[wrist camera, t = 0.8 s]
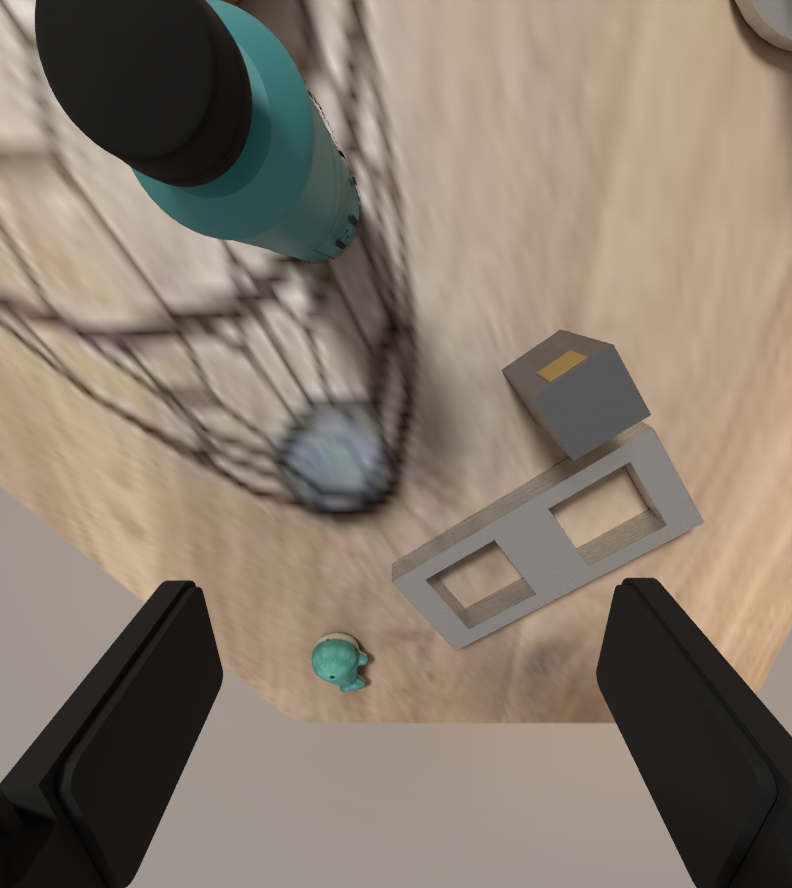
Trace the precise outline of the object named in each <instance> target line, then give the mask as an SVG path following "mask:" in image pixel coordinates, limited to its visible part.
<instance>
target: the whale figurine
mask: <svg viewBox="0 0 792 888" xmlns="http://www.w3.org/2000/svg"><path fill="white" fill-rule="evenodd" d="M367 662H368V656H367V654H366V653H364V652H362V651H360V650H359V646H358V643H357V641H356V640H355V639H354V638H353V637H352V636H350V635H348V634H345V633H332V634H328V635H325V636H323V637H321V638H320V639H319V640H318V641H317V642H316V644H315V646H314V649H313V653H312V665H313V669H314V672H315V673H316V675H318V676H319V677H320V678H321V679H323V680H325V681H328V682H331V683H333V684H336V685H339V686H340V690H341V691H343V692H347V691H350V690H356V689H360V688H363V687H364V686H365V684H366V681H365V679H364V678H363V677H362V676H361V675H359V674H357V671H358V666H360V665H365V664H366V663H367Z"/></svg>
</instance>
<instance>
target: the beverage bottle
mask: <svg viewBox="0 0 792 888" xmlns="http://www.w3.org/2000/svg"><path fill="white" fill-rule="evenodd" d="M35 32H36V41H37V47H38V51H39V56H40V60H41V63H42V66H43V69H44V73H45V75H46V77H47V80H48V82H49V85H50V87H51V89H52V91H53V93H54V95H55V97H56V99H57V100H58V102H59V103H60V105H61V107H62V108H63V110H64V111H65V112H66V114H67V115H68V116H69V118H70V119H71V120H72V121H73V122H74V124H75V125H76V126H77V127H78V128H79V129H80V130H81V131H82V132H83V133H84V134H85V135H86V136H87V137H89V138H90V139H91V140H92V141H93V142H94V143H96V144H97V145H98V146H100V147H101V148H103V149H104V150H106V151H107V152H109V153H111V154H112V155H114V156H116V157H118V158H119V159H121V160H122V161H124V162H125V163H126V164H128V165H129V166H130V167H131V168H132V170H133V172H134V174H135V175H136V177H137V179H138V180H139V182H140V184H141V185H142V187H143V188H144V189H145V191H146V192H147V193H148V195H149V196H150V197H151V198H152V200H153V201H154V202H155V203H156V204H157V205H158V206H159V207H160V208H161V209H162V210H163V211H164V212H166V213H167V214H168V215H169V216H170V217H171V218H173V219H174V220H176V221H177V222H179V223H180V224H182V225H183V226H185V227H187V228H189V229H191V230H192V231H195V232H197V233H200V234H202V235H205V236H209V237H213V238H217V239H223V240H234V241H238V242H242V243H246V244H250V245H254V246H258V247H261V248H265V249H269V250H271V251H274V252H277V253H280V254H284V255H287V256H291V257H294V258H298V259H301V260H305V261H302V262H308V261H312V262H313V261H315V262H316V261H318V262H319V261H321V263H322V260H326V259H329V258H332V257H334V256H335V255H337V254H339V253H340V252H341V251H342V250H345V247H346V246H347V245H348V244H349V243H350V241H351V240H353V239H352V238H353V236H354V234H355V235H357V234H356V233H355V232H357V231H356V229H358V228H357V225H358V221H359V222H361V221H360V220H359V215H360V213H359V209H360V206H359V201H360V197H359V196H358V193H357V190H356V187H355V185H357V184H356V181H355V178H354V177H352V178H351V176H350V174H349V172H348V170H347V168H346V166H345V164H344V162H343V160H342V158H341V156H342V157H343V158H345V157H344V155H343V153H342V152H341V151H339V150H340V149H338V150H337V148H336V147H337V146H336V145H335V144H336V143H335V144H334V142H333V140H332V138H331V136H330V134H329V131H328V130H327V128H326V126H325V124H324V122H323V120H322V119H323V118H322V117H321V116H320V114H319V112H318V110H317V108H316V106H315V105H314V103H313V101H312V99H313V98H312V99H311V98H310V96H309V93H310V95H311V92H312V91H311V92H310V91H309V90H308V91H309V93H308V91H307V88H306V85H305V83H304V82H305V81H303V78H302V76H301V74H300V72H299V70H298V68H297V66H296V65H295V63H294V61H293V59H292V57H291V56H290V54H289V53H288V51H287V50H286V49H285V47H284V46H283V44H282V43H281V42H280V41H279V40H278V38H277V37H276V36H275V35H274V34H273V33H272V32H271V31H270V30H269V29H268V28H267V27H266V26H265V25H264V24H262V23H261V22H260V21H259V20H257V19H256V18H255V17H253V16H252V15H250V14H249V13H247V12H246V11H244V10H242V9H240V8H238V7H236V6H234V5H232V4H229V3H226V2H224V1H221V0H36V7H35ZM307 86H308V85H307ZM309 89H310V88H309ZM313 95H314V94H313ZM313 95H311V97H312V96H313ZM315 98H316V97H315ZM315 98H314V99H315ZM314 99H313V100H314ZM314 101H315V102H316V100H314ZM316 103H317V102H316ZM317 105H318V104H317ZM319 108H320V109H321V107H320V105H319ZM322 113H323V112H322ZM323 114H324V113H323ZM324 119H325V117H324ZM324 121H325V120H324ZM325 122H326V121H325ZM327 123H328V121H327ZM328 124H329V123H328ZM329 126H330V125H329ZM332 132H333V131H332ZM333 138H334V137H333ZM334 140H335V139H334ZM335 142H336V141H335ZM337 143H338V142H337ZM345 161H346V160H345ZM346 163H347V162H346ZM351 172H352V171H351ZM352 179H353V180H352ZM359 192H360V191H359ZM361 205H362V204H361ZM361 215H362V213H361ZM360 217H361V216H360ZM358 226H360V225H358ZM355 237H356V236H355ZM354 239H355V238H354ZM351 242H352V241H351ZM349 245H351V244H349ZM347 247H348V246H347ZM347 247H346V248H347ZM345 251H346V250H345ZM345 251H344V252H345ZM342 252H343V251H342ZM342 252H341V253H342ZM339 256H340V255H339ZM284 258H285V257H284ZM287 259H288V258H287ZM333 259H335V258H333ZM333 259H332V260H333ZM291 260H292V259H291ZM295 261H296V260H295ZM326 261H327V260H326ZM299 262H300V261H299ZM323 262H324V261H323ZM327 262H328V261H327ZM313 263H314V262H313ZM316 263H317V262H316ZM319 263H320V262H319ZM319 263H318V264H319Z"/></svg>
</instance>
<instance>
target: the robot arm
mask: <svg viewBox="0 0 792 888" xmlns="http://www.w3.org/2000/svg"><path fill="white" fill-rule="evenodd" d="M735 2H736V3H737V5H738V7H739V9H740V11H741V13H742V15H743V17H744V19H745V21H746V22H747V23H748V24H749V25H750V26H751V27H752V29H753V30H754V31H755V32H756V33H757V34H758V35H759V36H760V37H761V38H763V39H764V40H766V41H768V42H769V43H771V44H772V45H774V46H775V47H778V48H782V49H785V50H788V51H792V0H735ZM596 676H597V682H598V685H599V688H600V690H601V693H602V695H603V697H604V699H605V701H606V703H607V705H608V707H609V709H610V711H611V713H612V715H613V717H614V719H615V722H616V724H617V725H618V728H619V730H620V732H621V734H622V736H623V738H624V740H625V742H626V744H627V746H628V748H629V750H630V752H631V755H632V757H633V759H634V761H635V763H636V765H637V767H638V769H639V771H640V773H641V775H642V777H643V780H644V782H645V784H646V786H647V788H648V790H649V792H650V794H651V796H652V798H653V800H654V802H655V804H656V806H657V809H658V811H659V813H660V815H661V817H662V819H663V821H664V823H665V825H666V827H667V829H668V831H669V833H670V835H671V838H672V840H673V842H674V844H675V846H676V848H677V850H678V852H679V854H680V856H681V858H682V860H683V862H684V864H685V867H686V869H687V871H688V873H689V875H690V877H691V879H692V881H693V882H694V884H695V886H696V887H697V888H792V737H791V735H790V734H789V733H788V732H787V731H786V730H785V729H784V727H783V726H782V725H781V724H780V723H779V721H778V720H777V719H776V718H775V717H774V716H773V714H772V713H771V712H770V711H769V710H768V709H767V707H766V706H765V705H764V704H763V703H762V702H761V700H760V699H759V698H758V697H757V696H756V694H755V693H754V692H753V691H752V690H751V689H750V687H749V686H748V685H747V684H746V683H745V682H744V680H743V679H742V678H741V677H740V676H739V675H738V673H737V672H736V671H735V670H734V669H733V668H732V666H731V665H730V664H729V663H728V662H727V661H726V659H725V658H724V657H723V656H722V655H721V654H720V652H719V651H718V650H717V649H716V648H715V647H714V645H713V644H712V643H711V642H710V641H709V639H708V638H707V637H706V636H705V635H704V634H703V632H702V631H701V630H700V629H699V628H698V627H697V625H696V624H695V623H694V622H693V621H692V620H691V618H690V617H689V616H688V615H687V614H686V613H685V611H684V610H683V609H682V608H681V607H680V606H679V604H678V603H677V602H676V601H675V600H674V599H673V597H672V596H671V595H670V594H669V593H668V591H667V590H666V589H665V588H664V587H663V586H662V584H661V583H660V582H659V581H658V580H656V579H654V578H625V579H624V580H623V582H622V585H617V586H616V588H615V591H614V595H613V599H612V604H611V608H610V613H609V617H608V621H607V626H606V630H605V635H604V639H603V644H602V648H601V652H600V657H599V661H598V666H597V671H596ZM222 679H223V669H222V665H221V661H220V657H219V653H218V649H217V646H216V642H215V638H214V634H213V630H212V626H211V622H210V618H209V614H208V610H207V606H206V602H205V598H204V594H203V591H202V589H201V588H200V587H196V585H195V583H194V582H193V581H165V582H163V583H162V584H161V585H160V586H159V587H158V588H157V589H156V591H155V592H154V593H153V594H152V596H151V597H150V598H149V599H148V601H147V602H146V603H145V604H144V606H143V607H142V608H141V609H140V611H139V612H138V613H137V614H136V616H135V617H134V618H133V619H132V621H131V622H130V623H129V624H128V625H127V627H126V628H125V629H124V630H123V632H122V633H121V634H120V635H119V637H118V638H117V639H116V640H115V642H114V643H113V644H112V645H111V647H110V648H109V649H108V650H107V652H106V653H105V654H104V655H103V656H102V658H101V659H100V660H99V661H98V663H97V664H96V665H95V666H94V668H93V669H92V670H91V671H90V673H89V674H88V675H87V676H86V678H85V679H84V680H83V681H82V683H81V684H80V685H79V686H78V688H77V689H76V690H75V691H74V693H73V694H72V695H71V696H70V697H69V699H68V700H67V701H66V702H65V704H64V705H63V706H62V707H61V709H60V710H59V711H58V713H57V714H56V715H55V716H54V717H53V719H52V720H51V721H50V722H49V724H48V725H47V726H46V727H45V728H44V730H43V731H42V732H41V733H40V735H39V736H38V737H37V738H36V740H35V741H34V742H33V743H32V745H31V746H30V747H29V748H28V750H27V751H26V752H25V753H24V755H23V756H22V757H21V758H20V760H19V761H18V762H17V763H16V764H15V766H14V767H13V768H12V770H11V771H10V772H9V773H8V775H7V776H6V777H5V778H4V779H3V781H2V782H1V783H0V888H125V887H127V886H128V885H129V884H130V883H131V882H132V880H133V879H134V877H135V875H136V873H137V871H138V869H139V867H140V865H141V862H142V860H143V858H144V856H145V854H146V851H147V849H148V847H149V845H150V842H151V840H152V838H153V836H154V834H155V831H156V829H157V827H158V825H159V823H160V820H161V818H162V816H163V814H164V812H165V809H166V807H167V805H168V803H169V800H170V798H171V796H172V794H173V792H174V789H175V787H176V785H177V783H178V780H179V778H180V776H181V774H182V771H183V770H184V767H185V765H186V763H187V761H188V758H189V756H190V754H191V752H192V750H193V747H194V745H195V743H196V741H197V739H198V736H199V734H200V732H201V730H202V728H203V725H204V723H205V721H206V719H207V716H208V714H209V712H210V710H211V708H212V705H213V703H214V701H215V699H216V696H217V694H218V692H219V690H220V687H221V684H222Z"/></svg>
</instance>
